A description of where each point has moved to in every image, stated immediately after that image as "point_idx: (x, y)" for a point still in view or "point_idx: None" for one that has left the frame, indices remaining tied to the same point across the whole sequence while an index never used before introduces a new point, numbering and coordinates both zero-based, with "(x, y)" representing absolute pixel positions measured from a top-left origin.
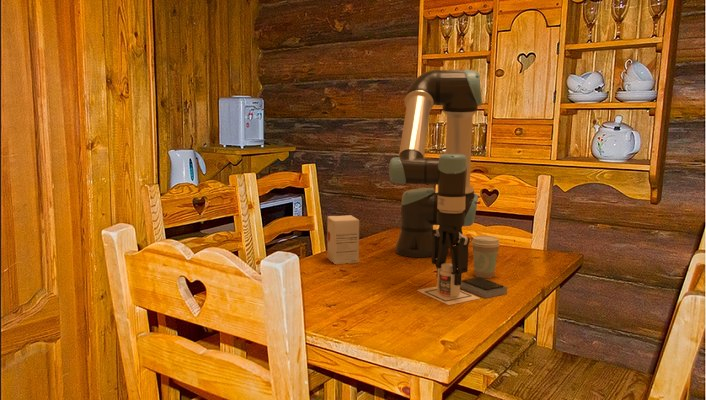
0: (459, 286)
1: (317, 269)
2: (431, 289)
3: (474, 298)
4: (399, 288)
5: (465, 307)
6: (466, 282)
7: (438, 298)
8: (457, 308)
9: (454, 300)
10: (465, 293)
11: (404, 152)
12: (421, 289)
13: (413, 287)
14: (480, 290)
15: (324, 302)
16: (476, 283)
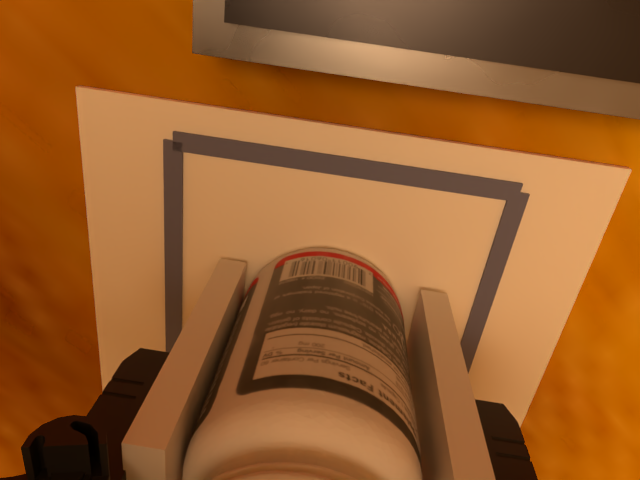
0: (460, 358)
1: None
2: (147, 323)
3: (589, 226)
4: (4, 445)
5: (627, 419)
6: (310, 33)
7: None
8: (587, 466)
9: (476, 384)
10: (433, 183)
11: None
12: (107, 376)
13: (19, 367)
14: (619, 113)
15: None
16: None
